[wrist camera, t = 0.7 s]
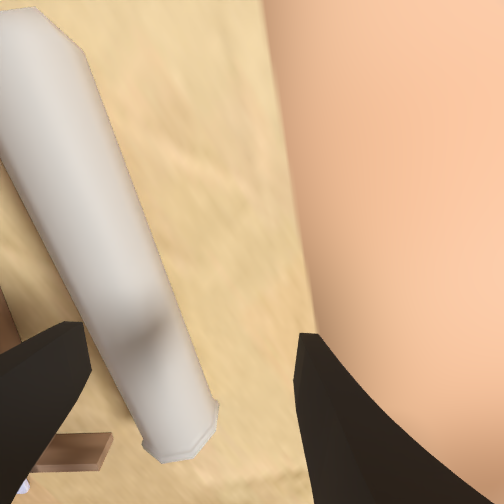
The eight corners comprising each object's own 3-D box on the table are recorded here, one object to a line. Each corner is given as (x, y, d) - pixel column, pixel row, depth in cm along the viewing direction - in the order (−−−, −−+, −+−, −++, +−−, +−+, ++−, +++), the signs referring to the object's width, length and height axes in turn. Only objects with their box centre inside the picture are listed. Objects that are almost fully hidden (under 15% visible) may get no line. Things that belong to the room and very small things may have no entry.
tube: (-112, 18, 11) (129, 457, 20) (-33, -47, 9) (197, 472, 18) (23, 46, 16) (172, 393, 25) (95, 6, 14) (230, 399, 23)
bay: (49, 441, 25) (28, 472, 23) (-156, -74, 13) (-243, -119, 11) (113, 439, 25) (99, 470, 23) (-36, -79, 13) (-97, -126, 11)
